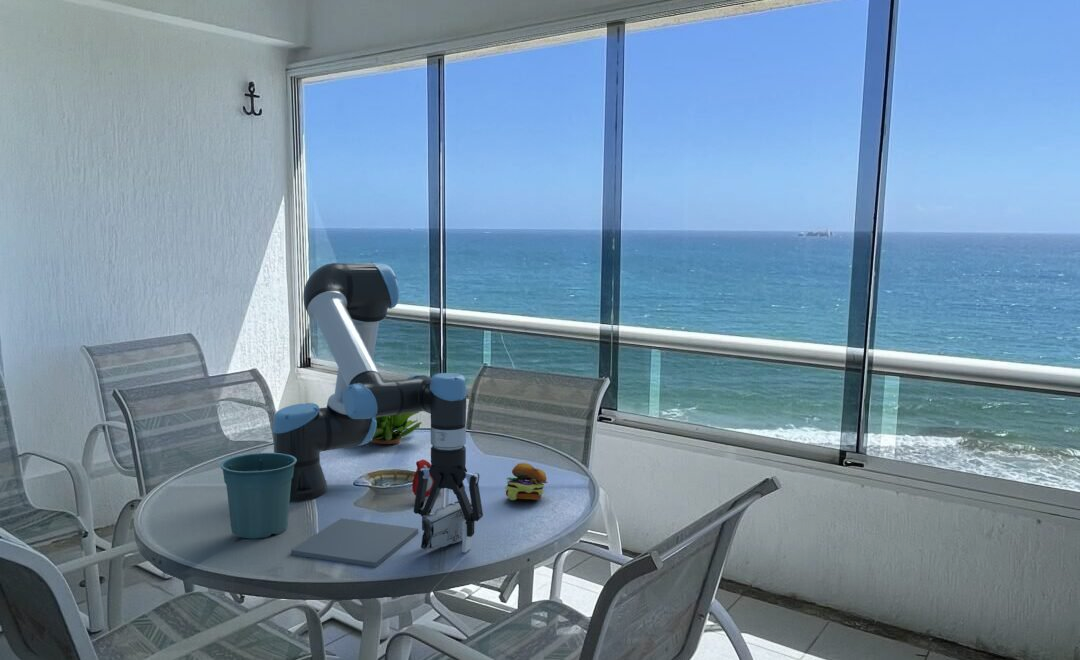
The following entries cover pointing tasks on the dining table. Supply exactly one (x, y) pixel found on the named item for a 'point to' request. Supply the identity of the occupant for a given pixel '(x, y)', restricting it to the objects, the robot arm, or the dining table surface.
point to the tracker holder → (420, 465)
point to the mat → (356, 542)
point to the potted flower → (393, 428)
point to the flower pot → (258, 493)
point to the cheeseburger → (526, 482)
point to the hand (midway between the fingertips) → (447, 547)
